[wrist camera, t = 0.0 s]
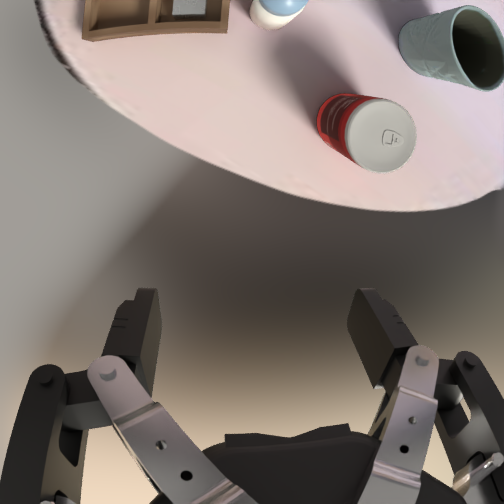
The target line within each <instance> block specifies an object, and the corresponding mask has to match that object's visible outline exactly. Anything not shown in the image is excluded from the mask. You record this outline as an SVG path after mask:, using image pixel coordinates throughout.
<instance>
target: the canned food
mask: <svg viewBox="0 0 504 504" xmlns="http://www.w3.org/2000/svg"><path fill="white" fill-rule="evenodd" d="M317 128H318V132H319V134H320V136H321V138H322V139H323V141H324V142H325V143H326V144H327V145H329V146H330V147H331V148H333V149H334V150H336V151H338V152H339V153H341V154H342V155H344V156H345V157H347V158H348V159H350V160H351V161H353V162H354V163H356V164H357V165H359V166H360V167H362V168H364V169H366V170H368V171H371V172H374V173H390V172H393V171H396V170H398V169H399V168H401V167H402V166H403V165H405V164H406V163H407V162H408V160H409V159H410V157H411V156H412V154H413V152H414V149H415V146H416V139H417V134H416V127H415V124H414V121H413V119H412V117H411V116H410V114H409V113H408V111H407V110H406V109H404V108H403V107H402V106H401V105H399V104H397V103H396V102H393V101H391V100H388V99H383V98H378V97H371V96H364V95H356V94H346V93H344V94H338V95H335V96H332V97H331V98H329V99H328V100H327V101H325V102H324V104H323V105H322V106H321V108H320V110H319V112H318V116H317Z"/></svg>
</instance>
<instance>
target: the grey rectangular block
mask: <svg viewBox="0 0 504 504" xmlns="http://www.w3.org/2000/svg"><path fill="white" fill-rule="evenodd" d="M206 9H207V0H174V1H173V12H172V15H173V17H174V18H175V19H197V18H206Z"/></svg>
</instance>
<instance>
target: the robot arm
mask: <svg viewBox="0 0 504 504" xmlns="http://www.w3.org/2000/svg"><path fill="white" fill-rule="evenodd" d="M347 328H348V332H349V334H350V336H351V338H352V341H353V343H354V345H355V347H356V350H357V352H358V354H359V356H360V359H361V361H362V363H363V365H364V368H365V370H366V372H367V375H368V377H369V379H370V382H371V384H372V386H373V389H378V388H384V389H385V393H384V395H383V397H382V400H381V403H380V405H379V408H378V411H377V413H376V416H375V418H374V421H373V423H372V426H371V428H370V430H369V432H368V434H363V433H359V432H354V431H350V428H349V424H348V423H346V424H340V425H333V426H326V427H320V428H317V429H315V430H312V431H309V432H306V433H303V434H300V435H297V436H295V437H291V438H288V437H280V436H273V435H265V434H259V433H250V434H249V433H247V434H225V442H223V443H219V444H216V445H213V446H211V447H209V448H206V449H205V450H203V451H201V450H200V449H199V448H198V447H197V446H196V445H195V444H194V443H193V442H192V440H191V439H190V438H189V437H188V436H187V435H186V434H185V432H184V431H183V430H182V429H181V428H180V427H179V425H178V424H177V423H176V422H175V421H174V419H173V418H172V417H171V416H170V415H169V413H168V412H167V411H166V410H165V408H164V407H163V406H162V405H161V404H160V403H158V402H156V403H155V402H154V401H153V400H152V399H151V398H152V391H153V384H154V377H155V370H156V364H157V357H158V351H159V344H160V339H161V331H162V319H161V312H160V304H159V296H158V290H157V289H156V288H138V290H137V293H136V296H135V299H134V301H132V300H125V301H124V302H123V303H122V304H121V305H120V306H119V307H118V309H117V311H116V314H115V317H114V320H113V322H112V325H111V328H110V331H109V334H108V337H107V340H106V343H105V346H104V349H103V353H102V355H101V357H99V358H97V359H96V360H94V361H93V362H92V363H91V364H90V366H89V367H88V369H87V370H85V371H80V372H74V373H67V374H64V372H63V371H62V369H61V368H60V367H58V366H56V365H52V364H47V365H43V366H40V367H38V368H37V369H35V370H34V371H33V372H32V374H31V375H30V377H29V380H28V383H27V386H26V389H25V392H24V394H23V398H22V401H21V404H20V407H19V410H18V413H17V416H16V420H15V423H14V427H13V430H12V434H11V437H10V441H9V445H8V449H7V453H6V458H5V461H4V466H3V471H2V475H1V480H0V504H80V499H81V487H82V477H83V467H84V460H85V451H86V445H87V437H88V431H89V429H92V428H99V427H105V426H111V425H112V427H113V428H114V430H115V432H116V433H117V435H118V436H119V438H120V440H121V441H122V443H123V444H124V446H125V447H126V449H127V450H128V452H129V453H130V455H131V456H132V458H133V459H134V460H135V462H136V464H137V465H138V467H139V468H140V470H141V471H142V472H143V474H144V475H145V477H146V478H147V479H148V481H149V482H150V483H151V485H152V486H153V487H154V489H155V490H156V491H157V492H158V495H157V496H156V497H155V498H154V499H153V500H152V501H151V502H150V504H504V399H503V397H502V395H501V394H500V392H499V390H498V388H497V386H496V385H495V383H494V381H493V380H492V378H491V377H490V375H489V373H488V371H487V370H486V368H485V366H484V365H483V363H482V362H481V360H480V359H479V358H478V357H477V356H476V355H475V354H473V353H471V352H468V351H461V352H459V353H458V354H457V355H456V357H455V358H454V360H446V359H438V357H437V355H436V354H435V352H434V351H432V350H431V349H429V348H428V347H425V346H421V345H418V343H417V342H416V340H415V339H414V337H413V335H412V334H411V332H410V331H409V329H408V327H407V326H406V324H404V321H403V320H402V318H401V317H400V316H399V313H398V312H397V311H396V309H395V307H394V306H393V305H391V304H390V303H389V302H388V301H386V300H382V298H381V297H380V295H379V294H378V292H377V290H376V289H374V288H369V289H357V290H356V292H355V294H354V298H353V301H352V304H351V308H350V311H349V314H348V318H347ZM463 397H464V399H465V401H466V403H467V405H468V407H469V409H470V411H471V419H470V422H469V420H468V418H467V416H466V414H465V412H464V410H463V408H462V406H461V404H460V401H461V400H462V399H463ZM434 424H435V426H436V428H437V431H438V433H439V436H440V438H441V440H442V443H443V446H444V448H445V451H446V454H447V456H448V459H449V462H450V464H451V467H452V470H453V472H454V475H455V476H454V478H453V486H452V487H451V488H450V487H449V486H447V485H446V484H444V483H442V482H441V481H439V480H438V479H436V478H434V477H432V476H431V475H430V474H428V473H427V472H425V471H423V470H422V468H423V464H424V461H425V457H426V454H427V449H428V446H429V442H430V438H431V434H432V429H433V425H434Z"/></svg>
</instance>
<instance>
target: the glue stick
mask: <svg viewBox="0 0 504 504" xmlns="http://www.w3.org/2000/svg"><path fill="white" fill-rule="evenodd" d="M307 2H308V0H253V2H252V4H251V7H250V17H251V20H252V21H253V23H254V24H255V25H257V26H258V27H260V28H262V29H265V30H277V29H280V28H282V27H284V26H285V25H286V24H287V23H288V22H290V21H291V20H292V19H293V18H294V17H295V16H297V15H298V14H299V13H300V12H301V11H302V10H303V9H304V7H305V5H306V4H307Z"/></svg>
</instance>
